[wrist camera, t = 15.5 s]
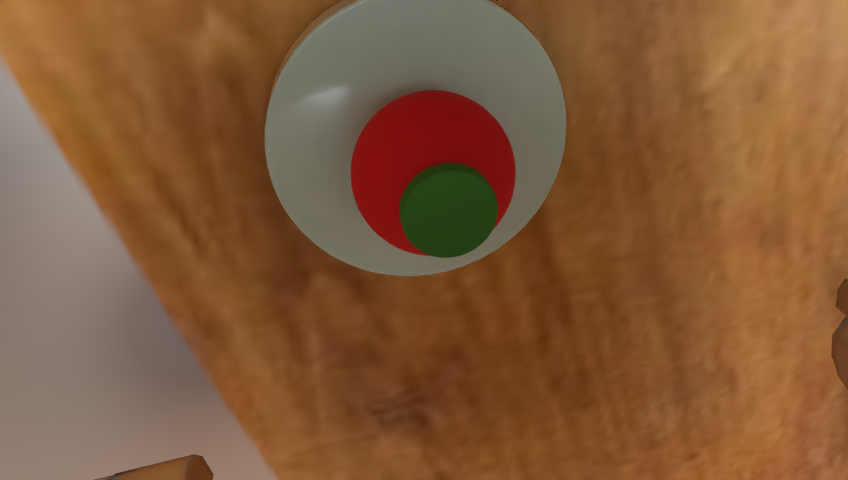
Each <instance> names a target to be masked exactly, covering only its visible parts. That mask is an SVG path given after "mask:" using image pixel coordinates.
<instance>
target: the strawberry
mask: <svg viewBox="0 0 848 480" xmlns="http://www.w3.org/2000/svg"><path fill="white" fill-rule="evenodd" d="M515 178H516V168H515V159H514V154H513V150H512V147H511V144H510V142H509V139H508V137H507V135H506V133H505V132H504V130H503V128H502V126H501V125H500V124H499V122H498V121H497V120H496V119H495V117H494V116H492V115H491V114H490V113H489V112H488V111H487V110H486V109H485V108H484V107H482V106H481V105H480V104H478V103H477V102H475V101H473V100H471V99H469V98H467V97H465V96H462V95H459V94H456V93H453V92H448V91H441V90H426V91H419V92H414V93H410V94H407V95H404V96H402V97H400V98H397V99H395V100H393V101H392V102H390V103H388V104H387V105H385V106H384V107H383V108H381V109H380V110H379V111H378V112H377V113H376V114H375V115H374V116H373V117H372V118H371V119H370V120H369V121H368V123H367V124H366V126H365V127H364V128H363V130H362V132H361V134H360V136H359V138H358V140H357V142H356V145H355V148H354V151H353V155H352V160H351V186H352V191H353V195H354V198H355V201H356V204H357V207H358V209H359V211H360V213H361V214H362V216H363V218H364V219H365V221H366V222H367V223H368V225H369V226H370V227H371V229H372V230H373V231H374V232H375V233H376V234H377V235H379V236H380V237H381V238H383V239H384V240H385V241H386V242H388V243H389V244H391V245H393V246H395V247H396V248H398V249H401V250H403V251H406V252H409V253H413V254H417V255H423V256H434V257H440V258H451V257H457V256H461V255H464V254H467V253H469V252H471V251H473V250H474V249H476V248H477V247H479V246H480V245H481V244H482V243H483V242H484V241H485V240H486V239H487V238H488V237H489V235H490V234H491V232H492V231H493V230H494V229H495V227H496V226H497V225H498V224H499V222H500V221H501V219H502V218H503V216H504V215H505V213H506V211H507V209H508V207H509V205H510V202H511V199H512V196H513V192H514V187H515Z"/></svg>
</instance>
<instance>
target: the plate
mask: <svg viewBox="0 0 848 480" xmlns="http://www.w3.org/2000/svg"><path fill="white" fill-rule="evenodd" d="M426 90H441V91H448V92H453V93H456V94H459V95H462V96H465V97H467V98H469V99H471V100H473V101H475V102H477V103H478V104H480V105H481V106H482V107H484V108H485V109H486V110H487V111H488V112H489V113H490V114H491V115H492V116H494V117H495V119H496V120H497V121H498V122H499V124H500V125H501V126H502V128H503V130H504V132H505V133H506V135H507V137H508V139H509V142H510V144H511V147H512V150H513V154H514V159H515V168H516V178H515V187H514V192H513V196H512V199H511V202H510V205H509V207H508V209H507V211H506V213H505V215H504V216H503V218H502V219H501V221H500V222H499V224H498V225H497V226H496V227H495V229H494V230H493V231H492V232H491V234H490V235H489V237H488V238H487V239H486V240H485V241H484V242H483V243H482V244H481V245H480V246H479V247H477V248H476V249H474V250H473V251H471V252H469V253H467V254H464V255H461V256H457V257H451V258H440V257H434V256H423V255H417V254H413V253H409V252H406V251H403V250H401V249H398V248H396V247H395V246H393V245H391V244H389V243H388V242H386V241H385V240H384V239H383V238H381V237H380V236H379V235H377V234H376V233H375V232H374V231H373V230H372V229H371V227H370V226H369V225H368V223H367V222H366V221H365V219H364V218H363V216H362V214H361V213H360V211H359V209H358V207H357V204H356V201H355V198H354V195H353V191H352V186H351V160H352V155H353V151H354V148H355V145H356V142H357V140H358V138H359V136H360V134H361V132H362V130H363V128H364V127H365V126H366V124H367V123H368V121H369V120H370V119H371V118H372V117H373V116H374V115H375V114H376V113H377V112H378V111H379V110H380V109H381V108H383V107H384V106H385V105H387V104H388V103H390V102H392V101H393V100H395V99H397V98H400V97H402V96H404V95H407V94H410V93H414V92H419V91H426ZM566 128H567V122H566V106H565V101H564V95H563V90H562V87H561V84H560V80H559V77H558V74H557V71H556V69H555V67H554V65H553V63H552V61H551V59H550V57H549V55H548V54H547V52H546V51H545V49H544V48H543V46H542V45H541V44H540V42H539V41H538V39H537V38H536V37H535V36H534V35H533V34H532V33H531V32H530V30H529V29H528V28H527V27H526V26H525V25H524V24H523V23H522V22H520V21H519V20H518V19H517V18H515V17H514V16H513V15H512V14H510V13H509V12H508V11H506V10H505V9H504V8H502V7H501V6H499V5H498V4H496V3H495V2H493V1H491V0H341V1H339V2H338V3H336V4H335V5H333V6H332V7H330V8H329V9H327V10H326V11H324V12H323V13H322V14H321V15H320V16H318V17H317V18H316V19H315V20H314V21H313V22H312V23H311V24H310V25H308V26H307V27H306V29H305V30H304V31H303V32H302V33H301V35H300V36H299V37H298V38H297V39H296V41H295V42H294V43H293V45H292V46H291V48H290V49H289V51H288V53H287V54H286V56H285V57H284V59H283V61H282V63H281V65H280V67H279V70H278V72H277V74H276V76H275V79H274V82H273V86H272V89H271V93H270V96H269V101H268V108H267V114H266V121H265V129H264V148H265V155H266V162H267V168H268V172H269V175H270V179H271V182H272V185H273V188H274V190H275V192H276V194H277V197H278V199H279V201H280V203H281V205H282V206H283V208H284V209H285V211H286V213H287V214H288V216H289V217H290V219H291V220H292V221H293V222H294V224H295V225H296V226H297V227H298V228H299V230H300V231H301V232H302V233H303V234H304V235H305V236H307V237H308V238H309V239H310V240H311V241H312V242H313V243H314V244H315V245H317V246H318V247H320V248H321V249H322V250H324V251H325V252H327V253H328V254H330V255H331V256H333V257H335V258H337V259H339V260H341V261H343V262H344V263H347V264H349V265H352V266H354V267H357V268H360V269H362V270H366V271H370V272H374V273H378V274H385V275H393V276H422V275H432V274H437V273H442V272H447V271H451V270H454V269H457V268H460V267H463V266H466V265H468V264H470V263H473V262H475V261H477V260H479V259H481V258H483V257H485V256H487V255H488V254H490V253H492V252H493V251H495V250H497V249H498V248H500V247H501V246H502V245H504V244H505V243H506V242H508V241H509V240H510V239H512V238H513V237H514V236H515V235H516V234H517V233H518V232H519V231H520V230H521V229H522V228H523V227H524V226H525V225H526V224H527V223H528V222H529V221H530V219H531V218H532V217H533V216H534V215H535V213H536V212H537V211H538V209H539V208H540V206H541V205H542V203H543V202H544V200H545V199H546V197H547V195H548V193H549V191H550V189H551V187H552V185H553V183H554V181H555V179H556V176H557V173H558V170H559V168H560V165H561V161H562V157H563V152H564V148H565V140H566Z"/></svg>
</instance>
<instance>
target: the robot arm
mask: <svg viewBox="0 0 848 480" xmlns="http://www.w3.org/2000/svg"><path fill="white" fill-rule="evenodd" d="M836 307H837V308H838V309H839V310H840V311H841V313H842V314H843V315H844V316H845V319H844V320H843V321H842V323H841V324H840V325H839V327H838V328H837V329H836V331H835V332H834V333H833V336H832V358H833V361H834V364H835V367H836V370H837V373H838V376H839V378H840V379H841V381H842V382H843V384H844V385H845V387H846V388H847V390H848V278H846V279H844V281H843V282H842V284H841V285H840V287H839V289H838V292H837V300H836ZM95 480H213V473H212V471H211V470H210V468H209V466H208V465H207V463H206V461H205V460H204V458H203V457H202V456H199V455H190V456H185V457H181V458H177V459H173V460H169V461H165V462H162V463H157V464H153V465H149V466H145V467H141V468H137V469H132V470H128V471H124V472H120V473H116V474H115V475H113V476H108V477H103V478H99V479H95Z"/></svg>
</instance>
